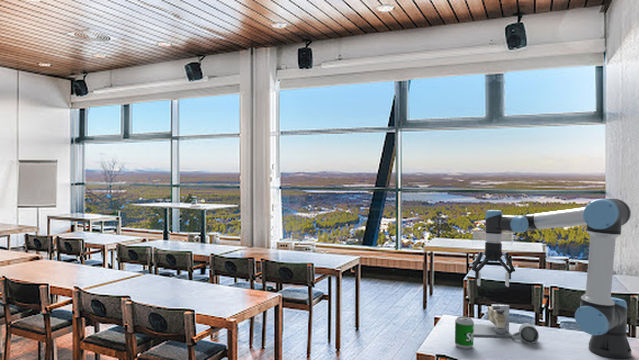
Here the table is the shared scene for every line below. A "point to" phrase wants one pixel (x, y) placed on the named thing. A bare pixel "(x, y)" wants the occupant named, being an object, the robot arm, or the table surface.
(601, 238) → the robot arm
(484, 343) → the table surface
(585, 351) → the table surface
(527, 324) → the ceramic mug
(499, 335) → the board
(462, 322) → the soda can
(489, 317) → the lever link
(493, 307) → the block
